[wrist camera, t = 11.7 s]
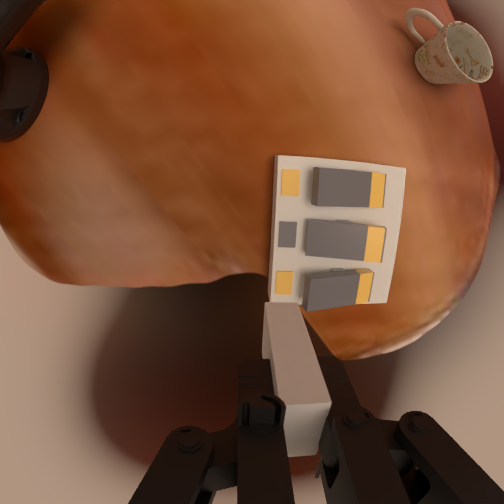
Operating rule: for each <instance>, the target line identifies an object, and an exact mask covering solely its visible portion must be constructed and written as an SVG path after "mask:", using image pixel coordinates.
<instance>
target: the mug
mask: <svg viewBox="0 0 504 504" xmlns="http://www.w3.org/2000/svg"><path fill="white" fill-rule="evenodd" d="M415 16H421V17H425V18H427V19H428V20H430V21H431V22H432V23H433V24H434V26H435V27H436V28H437V29H438V30H439V32H438V33H437V34H435V35H434V36H433V37H432V38H431V39H430V40H428V41H427V42H425V41H424V39H423V38H422V37H421V36H420V35H419V34H418V33H417V31H416V30H415V28H414V26H413V18H414V17H415ZM405 21H406V24H407V27H408V29H409V31H410V32H411V33H412V34H413V35H414V36H415V37H416V38H417V39H418V40H419V41H420V42H421V43H422V44H424V45H422V46H421V47H420V48H419V49H418V50H417V51H416V53H415V65H416V68H417V70H418V72H419V73H420V75H421V76H422V77H423V78H424V79H425V80H427V81H428V82H430V83H433V84H454V83H482V82H485V81H487V80H488V79H489V78H490V77H491V75H492V71H493V61H492V55H491V53H490V50H489V47H488V45H487V43H486V42H485V40H484V39H483V37H482V36H481V35H480V34H479V33H478V32H477V31H476V30H475V29H474V28H473V27H472V26H470V25H468V24H466V23H464V22H460V21H454V22H451V23H449V24H448V25H446V26H445V27H444V26H443V24H442V23H441V22H440V21H439V20H438V19H437V18H436V17H435V16H434V15H433V14H431V13H430V12H428V11H426V10H424V9H420V8H411V9H409V10H407V11H406V13H405Z"/></svg>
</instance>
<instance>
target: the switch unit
mask: <svg viewBox="0 0 504 504" xmlns="http://www.w3.org/2000/svg"><path fill="white" fill-rule="evenodd" d="M313 167H323V168H335V169H347V170H357V171H369V172H378V173H384V174H386V187H385V197H384V207H383V208H369V207H325V206H315V205H312V204H311V197H312V182H313ZM405 174H406V168H401V167H394V166H387V165H379V164H371V163H363V162H354V161H345V160H335V159H324V158H312V157H298V156H282V155H275V160H274V183H273V205H272V225H271V244H270V263H269V281H268V294H269V300H270V302H297V303H298V304H302V299H303V290H304V281H305V275H308V274H319V273H329V272H339V271H349V270H357V269H370V270H371V271H373V272H374V278H373V284H372V289H371V295H370V300H369V302H366V303H361V304H367V303H387V298H388V293H389V288H390V283H391V278H392V273H393V267H394V262H395V256H396V250H397V243H398V237H399V230H400V222H401V214H402V206H403V197H404V186H405ZM308 219H318V220H329V221H339V222H350V223H360V224H371V225H381V226H385V227H386V228H387V232H386V239H385V246H384V253H383V259H382V263H376V262H365V261H357V260H346V259H336V258H325V257H314V256H305V252H306V241H307V228H308Z"/></svg>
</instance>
